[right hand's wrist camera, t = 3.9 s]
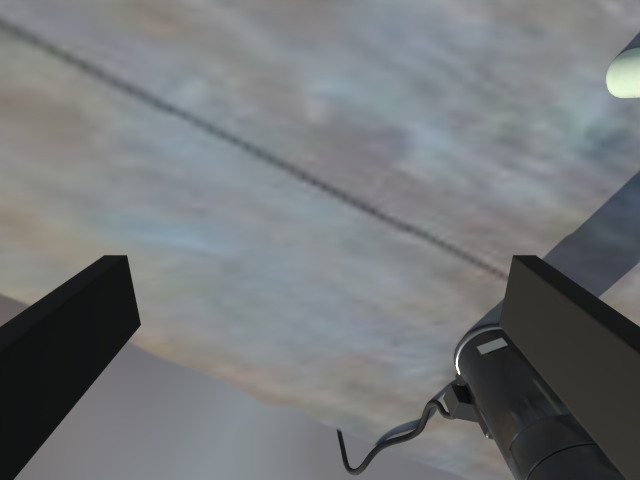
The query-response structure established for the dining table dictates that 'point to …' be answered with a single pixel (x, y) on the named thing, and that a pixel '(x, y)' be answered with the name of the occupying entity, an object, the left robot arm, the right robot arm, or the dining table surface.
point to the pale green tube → (625, 74)
